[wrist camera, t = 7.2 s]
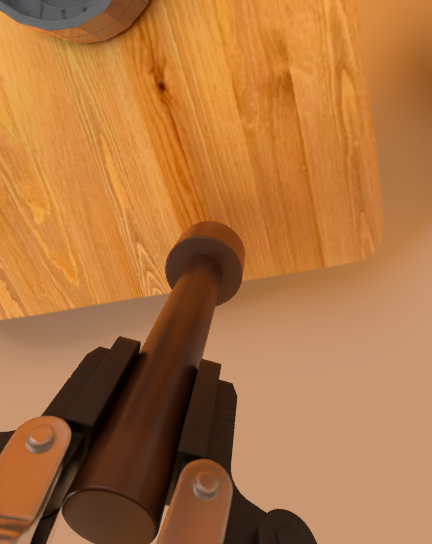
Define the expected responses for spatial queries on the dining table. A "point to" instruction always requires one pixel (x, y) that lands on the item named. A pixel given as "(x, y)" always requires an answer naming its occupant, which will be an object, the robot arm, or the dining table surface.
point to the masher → (155, 397)
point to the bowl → (75, 17)
